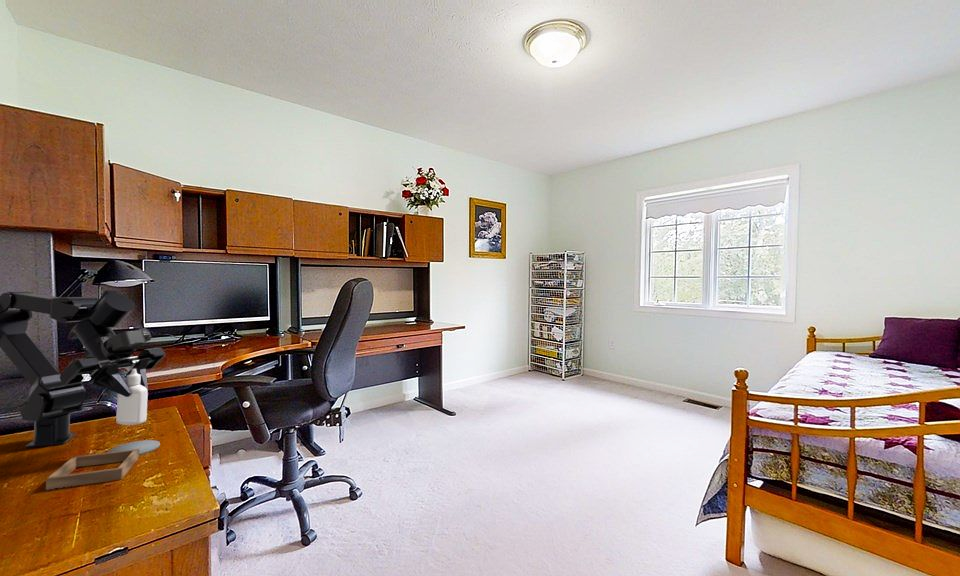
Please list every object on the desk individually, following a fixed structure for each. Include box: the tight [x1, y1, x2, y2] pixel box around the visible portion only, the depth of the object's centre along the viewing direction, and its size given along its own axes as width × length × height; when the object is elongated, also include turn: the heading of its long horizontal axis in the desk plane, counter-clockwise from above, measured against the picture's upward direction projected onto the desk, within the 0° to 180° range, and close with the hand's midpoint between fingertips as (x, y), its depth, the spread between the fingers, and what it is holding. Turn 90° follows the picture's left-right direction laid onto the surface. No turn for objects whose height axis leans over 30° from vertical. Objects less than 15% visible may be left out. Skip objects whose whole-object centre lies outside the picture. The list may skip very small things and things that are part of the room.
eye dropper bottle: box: [115, 369, 149, 426], centre depth 90 cm, size 4×6×12 cm
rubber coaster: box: [107, 439, 161, 456], centre depth 91 cm, size 9×9×1 cm
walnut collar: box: [45, 449, 140, 491], centre depth 80 cm, size 11×11×2 cm
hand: (137, 393), depth 90 cm, fingers closed on eye dropper bottle, 3 cm apart
